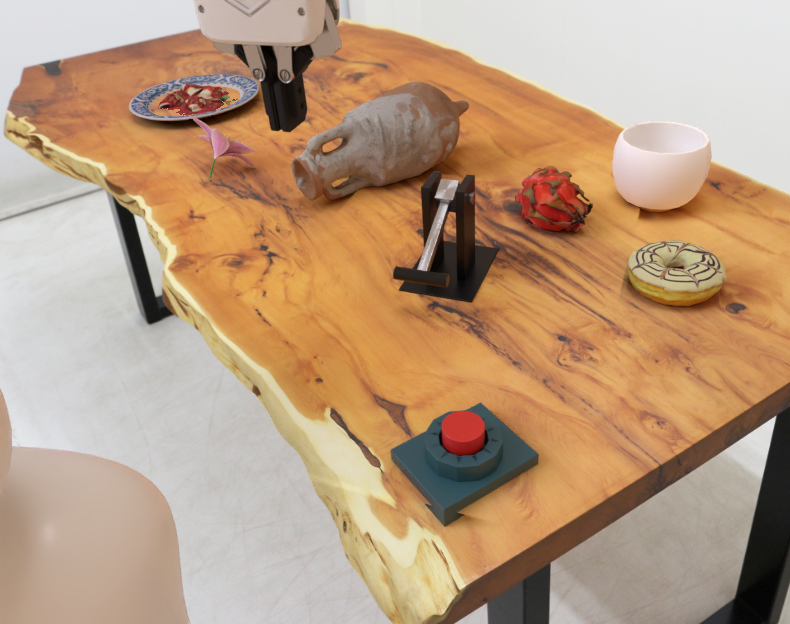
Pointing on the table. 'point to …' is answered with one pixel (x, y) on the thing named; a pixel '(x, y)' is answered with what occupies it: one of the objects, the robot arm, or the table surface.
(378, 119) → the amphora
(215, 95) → the ceramic plate
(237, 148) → the lily
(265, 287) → the table surface
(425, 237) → the black lever stand
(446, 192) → the lever
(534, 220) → the dragon fruit
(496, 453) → the button box
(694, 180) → the cup
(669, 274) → the decorated donut
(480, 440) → the button
